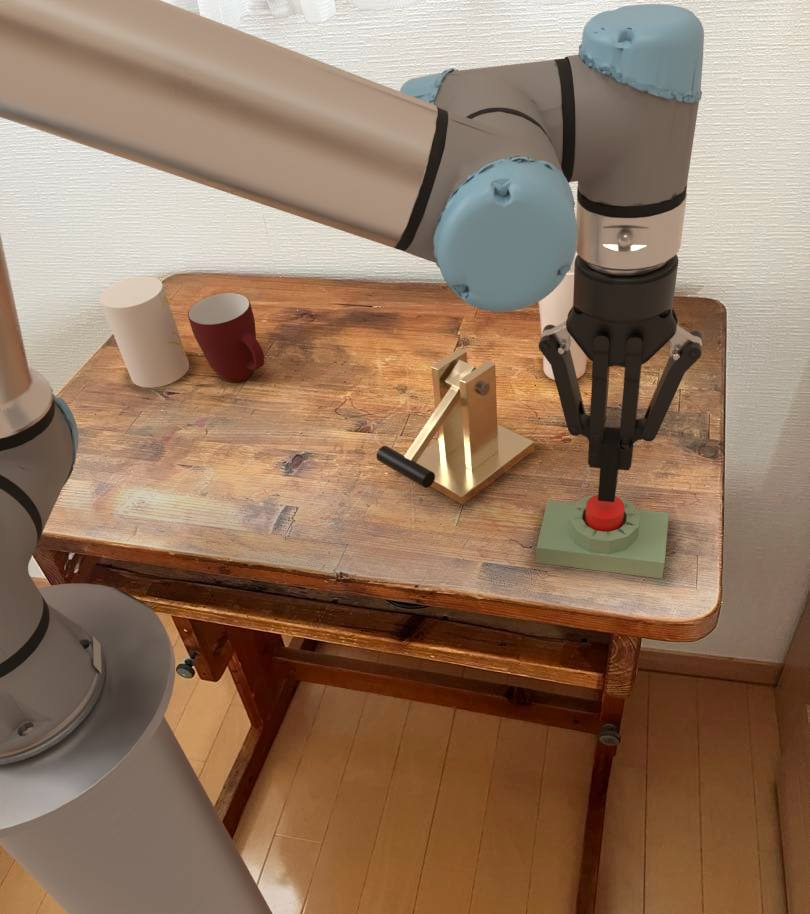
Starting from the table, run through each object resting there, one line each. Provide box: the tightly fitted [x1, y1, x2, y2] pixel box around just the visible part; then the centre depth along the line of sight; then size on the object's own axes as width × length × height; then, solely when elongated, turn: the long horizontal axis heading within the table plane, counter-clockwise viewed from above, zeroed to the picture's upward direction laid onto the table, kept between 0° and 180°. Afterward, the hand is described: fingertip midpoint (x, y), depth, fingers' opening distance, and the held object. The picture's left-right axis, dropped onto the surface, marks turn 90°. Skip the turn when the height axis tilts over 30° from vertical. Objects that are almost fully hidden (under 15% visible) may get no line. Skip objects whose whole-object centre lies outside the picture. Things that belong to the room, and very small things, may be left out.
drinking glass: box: [537, 251, 588, 381], centre depth 100 cm, size 7×7×15 cm
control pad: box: [535, 493, 670, 579], centre depth 82 cm, size 12×7×4 cm, turn 74°
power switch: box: [416, 348, 535, 506], centre depth 90 cm, size 12×9×13 cm
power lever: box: [376, 360, 477, 489], centre depth 87 cm, size 13×7×2 cm
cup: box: [99, 276, 190, 389], centre depth 112 cm, size 8×8×12 cm
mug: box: [187, 292, 266, 384], centre depth 109 cm, size 10×8×10 cm
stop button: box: [585, 494, 625, 532], centre depth 80 cm, size 4×4×2 cm
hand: (607, 491), depth 78 cm, fingers closed
